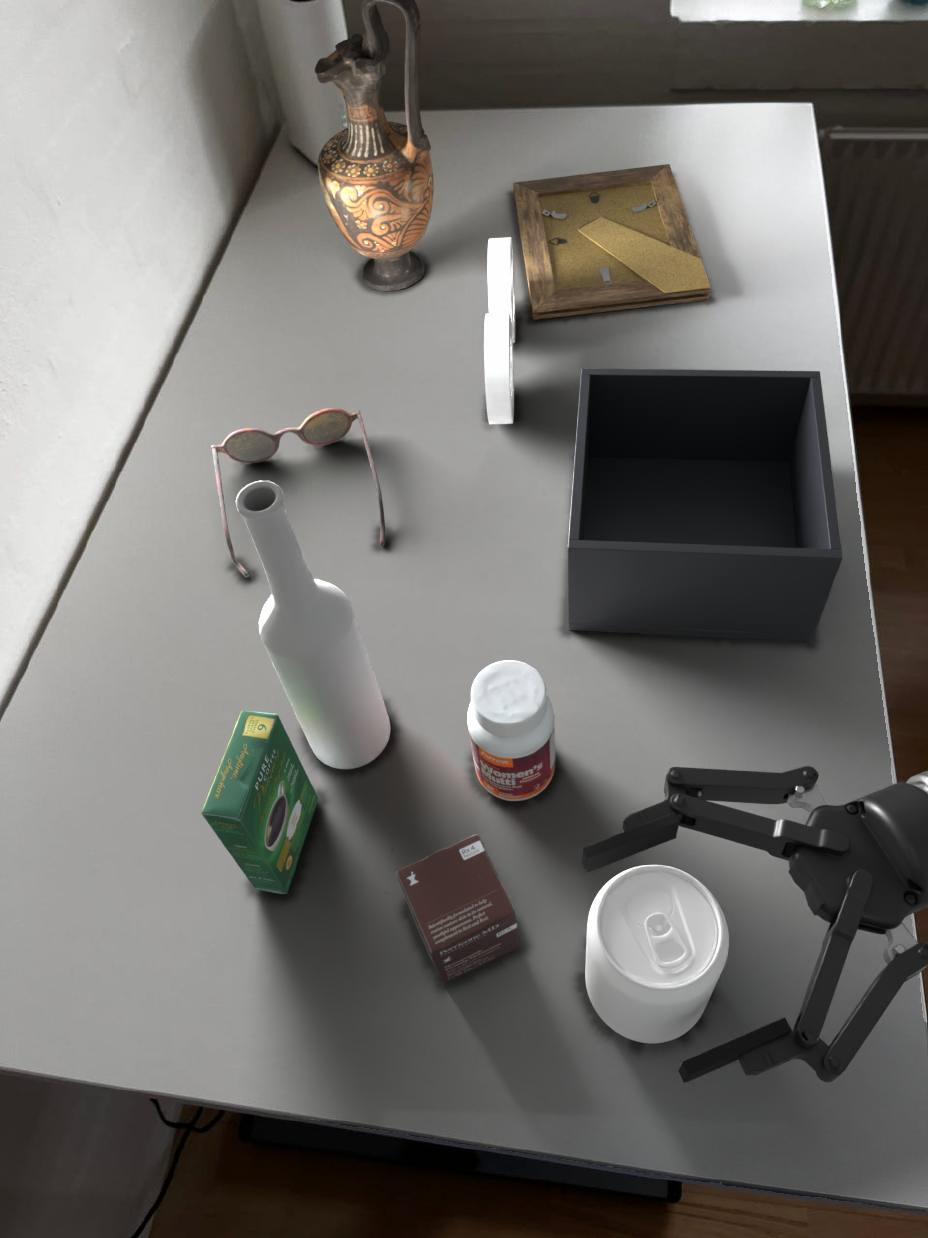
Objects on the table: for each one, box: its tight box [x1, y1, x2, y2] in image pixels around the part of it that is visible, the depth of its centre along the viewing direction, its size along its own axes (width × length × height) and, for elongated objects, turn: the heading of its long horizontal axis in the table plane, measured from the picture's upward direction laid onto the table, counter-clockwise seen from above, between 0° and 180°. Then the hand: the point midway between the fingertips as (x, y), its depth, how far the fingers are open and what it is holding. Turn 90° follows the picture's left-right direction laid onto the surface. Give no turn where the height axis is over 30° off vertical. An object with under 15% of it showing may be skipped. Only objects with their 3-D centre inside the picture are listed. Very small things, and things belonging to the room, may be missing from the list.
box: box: [395, 833, 521, 984], centre depth 66 cm, size 6×6×7 cm
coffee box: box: [200, 709, 319, 895], centre depth 68 cm, size 8×3×13 cm, turn 168°
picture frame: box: [512, 163, 712, 320], centre depth 110 cm, size 19×2×24 cm
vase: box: [314, 0, 435, 292], centre depth 99 cm, size 12×12×30 cm
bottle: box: [235, 480, 392, 770], centre depth 67 cm, size 7×7×28 cm
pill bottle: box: [466, 659, 556, 802], centre depth 71 cm, size 6×6×11 cm
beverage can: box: [584, 864, 730, 1044], centre depth 61 cm, size 8×8×12 cm
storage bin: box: [567, 367, 844, 643], centre depth 82 cm, size 20×20×11 cm
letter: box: [483, 236, 516, 425], centre depth 97 cm, size 22×2×10 cm, turn 178°
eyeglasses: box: [210, 407, 386, 579], centre depth 91 cm, size 15×15×5 cm
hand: (629, 960), depth 60 cm, fingers open, 13 cm apart
